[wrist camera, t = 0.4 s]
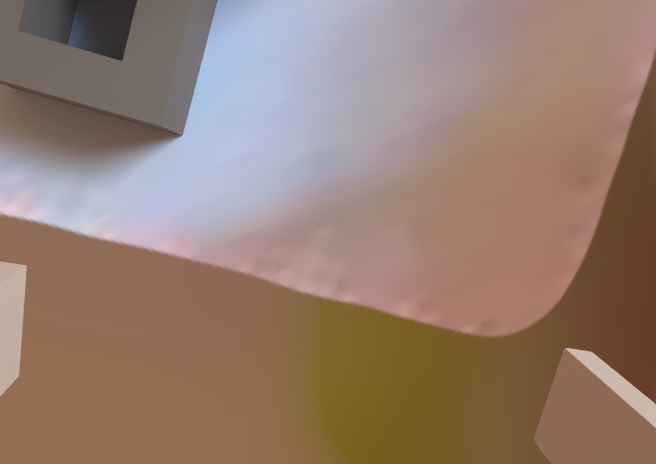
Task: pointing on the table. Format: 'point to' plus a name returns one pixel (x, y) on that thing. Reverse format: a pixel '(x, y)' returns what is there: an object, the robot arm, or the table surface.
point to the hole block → (109, 59)
